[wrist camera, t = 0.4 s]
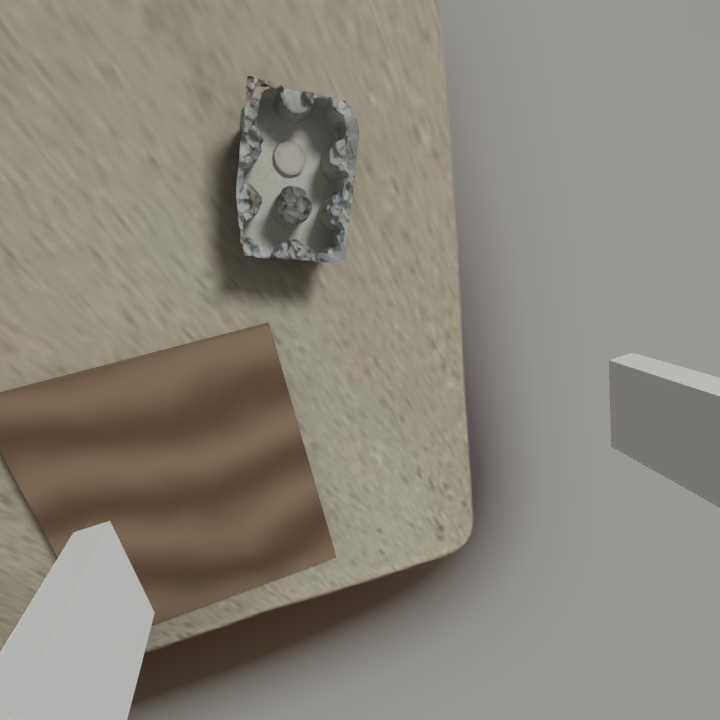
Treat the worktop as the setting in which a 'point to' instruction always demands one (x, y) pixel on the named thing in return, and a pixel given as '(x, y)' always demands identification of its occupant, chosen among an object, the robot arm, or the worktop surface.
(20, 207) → the worktop surface
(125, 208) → the worktop surface
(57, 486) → the walnut board
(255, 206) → the egg carton
